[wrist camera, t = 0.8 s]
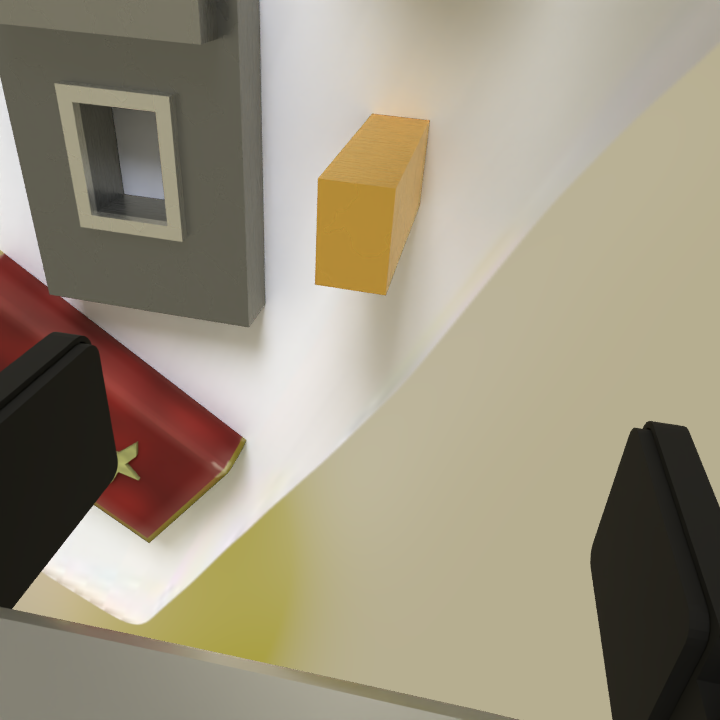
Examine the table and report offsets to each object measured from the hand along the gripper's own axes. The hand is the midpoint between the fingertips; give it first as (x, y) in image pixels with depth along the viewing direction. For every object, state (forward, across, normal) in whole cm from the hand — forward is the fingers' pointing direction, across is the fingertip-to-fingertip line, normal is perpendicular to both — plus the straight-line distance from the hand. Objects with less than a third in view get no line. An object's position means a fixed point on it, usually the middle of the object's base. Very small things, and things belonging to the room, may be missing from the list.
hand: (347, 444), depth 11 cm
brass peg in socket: (+26, +3, +2) cm, 26 cm away
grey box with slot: (+26, +17, +2) cm, 31 cm away
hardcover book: (+28, +24, +21) cm, 43 cm away
